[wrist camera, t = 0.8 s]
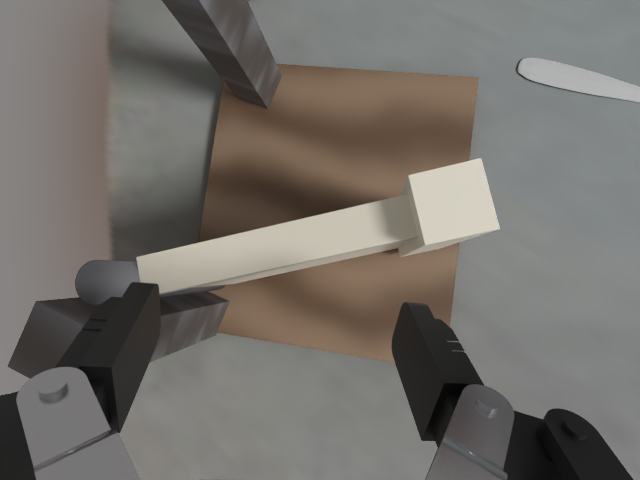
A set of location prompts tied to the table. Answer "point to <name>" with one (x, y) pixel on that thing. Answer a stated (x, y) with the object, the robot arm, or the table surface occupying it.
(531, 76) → the butter knife
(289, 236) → the gate
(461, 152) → the gate frame
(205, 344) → the table surface
